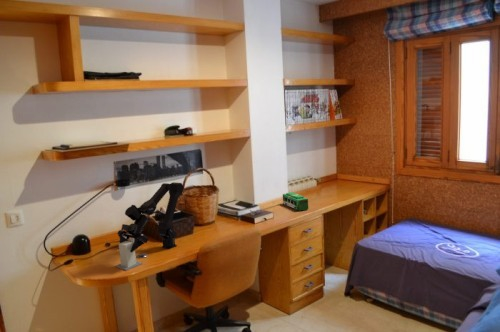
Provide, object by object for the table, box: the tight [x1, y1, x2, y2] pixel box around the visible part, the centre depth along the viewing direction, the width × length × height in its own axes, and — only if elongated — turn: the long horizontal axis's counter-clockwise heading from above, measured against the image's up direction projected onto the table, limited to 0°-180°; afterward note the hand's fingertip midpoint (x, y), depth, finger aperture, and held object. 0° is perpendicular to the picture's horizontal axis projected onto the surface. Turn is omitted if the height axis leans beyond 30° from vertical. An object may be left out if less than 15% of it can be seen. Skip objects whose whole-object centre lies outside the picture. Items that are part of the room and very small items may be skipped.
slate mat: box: [114, 260, 143, 271], centre depth 215 cm, size 10×10×1 cm
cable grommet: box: [136, 253, 148, 259], centre depth 227 cm, size 6×6×1 cm
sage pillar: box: [118, 241, 137, 267], centre depth 214 cm, size 6×6×12 cm
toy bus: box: [282, 191, 309, 212], centre depth 308 cm, size 11×27×10 cm, turn 15°
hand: (124, 250), depth 212 cm, fingers open, 9 cm apart
